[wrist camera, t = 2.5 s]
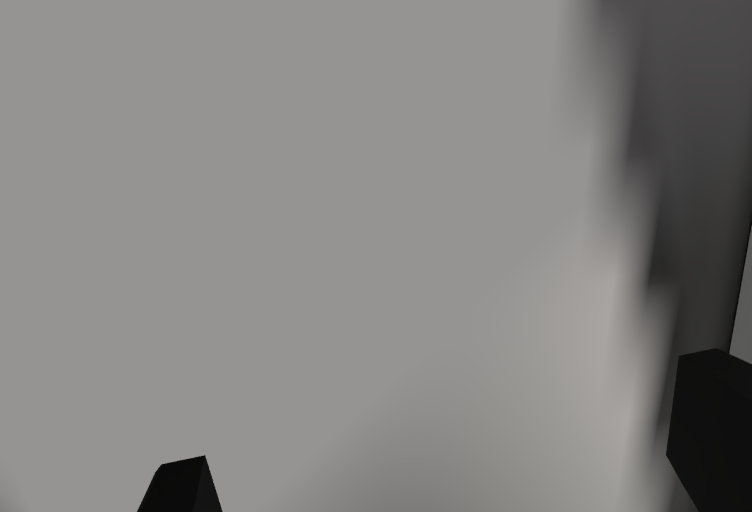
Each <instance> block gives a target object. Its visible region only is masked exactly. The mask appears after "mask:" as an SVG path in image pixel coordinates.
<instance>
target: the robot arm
mask: <svg viewBox="0 0 752 512" xmlns="http://www.w3.org/2000/svg"><path fill="white" fill-rule="evenodd" d="M666 456H667V458H668V459H669V461H670V463H671V465H672V466H673V468H674V470H675V472H676V473H677V475H678V477H679V479H680V481H681V482H682V484H683V486H684V488H685V489H686V491H687V493H688V494H689V496H690V497H691V499H692V501H693V502H694V504H695V506H696V507H697V509H698V511H699V512H752V364H750V363H748V362H746V361H744V360H742V359H740V358H737V357H735V356H733V355H731V354H728V353H726V352H724V351H721V350H719V349H717V348H714V349H710V350H705V351H700V352H695V353H691V354H686V355H681V356H679V360H678V368H677V375H676V383H675V391H674V398H673V406H672V413H671V421H670V429H669V436H668V444H667V451H666ZM137 512H222V509H221V505H220V502H219V499H218V496H217V493H216V489H215V486H214V483H213V479H212V476H211V473H210V470H209V466H208V464H207V460H206V457H205V455H204V456H200V457H195V458H190V459H186V460H180V461H176V462H171V463H167V464H162V465H161V466H160V467H159V468H158V470H157V471H156V472H155V474H154V476H153V479H152V481H151V483H150V485H149V487H148V490H147V492H146V494H145V496H144V498H143V500H142V502H141V505H140V507H139V509H138V511H137Z"/></svg>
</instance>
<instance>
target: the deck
mask: <svg viewBox="0 0 752 512" xmlns="http://www.w3.org/2000/svg"><path fill="white" fill-rule="evenodd" d="M729 354H731V355H733V356H735V357H737V358H740V359H742V360H744V361H746V362H748V363H750V364H752V227H751V233H750V238H749V244H748V250H747V255H746V261H745V267H744V272H743V278H742V284H741V290H740V295H739V301H738V307H737V312H736V318H735V324H734V329H733V335H732V341H731V346H730V352H729Z"/></svg>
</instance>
